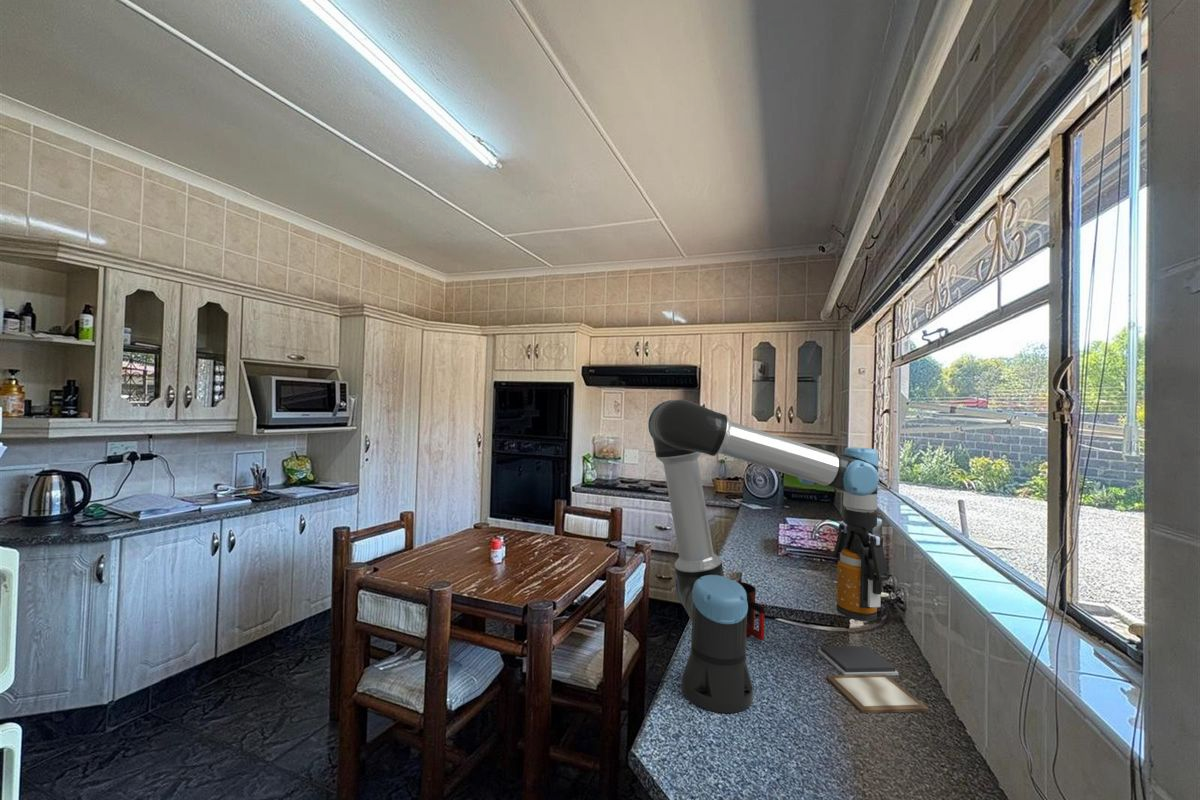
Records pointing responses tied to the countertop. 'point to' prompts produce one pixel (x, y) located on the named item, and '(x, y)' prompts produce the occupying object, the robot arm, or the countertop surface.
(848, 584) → the canister
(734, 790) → the countertop surface
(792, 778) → the countertop surface
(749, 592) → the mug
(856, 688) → the box board
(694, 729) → the countertop surface
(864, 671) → the ink pad
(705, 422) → the robot arm
